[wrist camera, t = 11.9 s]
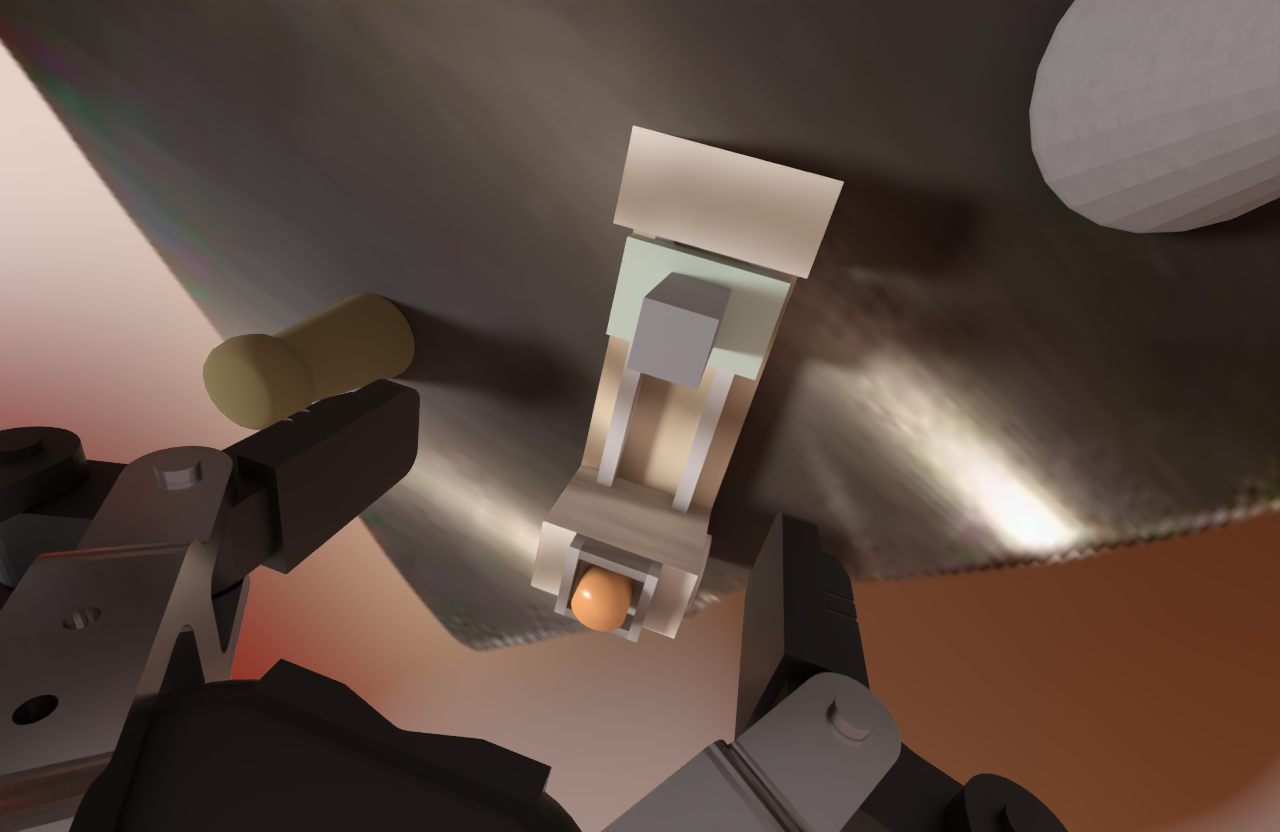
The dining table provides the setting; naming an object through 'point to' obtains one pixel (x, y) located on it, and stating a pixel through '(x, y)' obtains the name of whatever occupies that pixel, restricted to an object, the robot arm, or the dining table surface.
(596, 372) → the dining table surface
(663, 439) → the rail
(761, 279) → the carriage
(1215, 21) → the coffee pot
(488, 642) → the dining table surface
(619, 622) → the button
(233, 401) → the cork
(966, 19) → the dining table surface
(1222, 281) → the dining table surface
